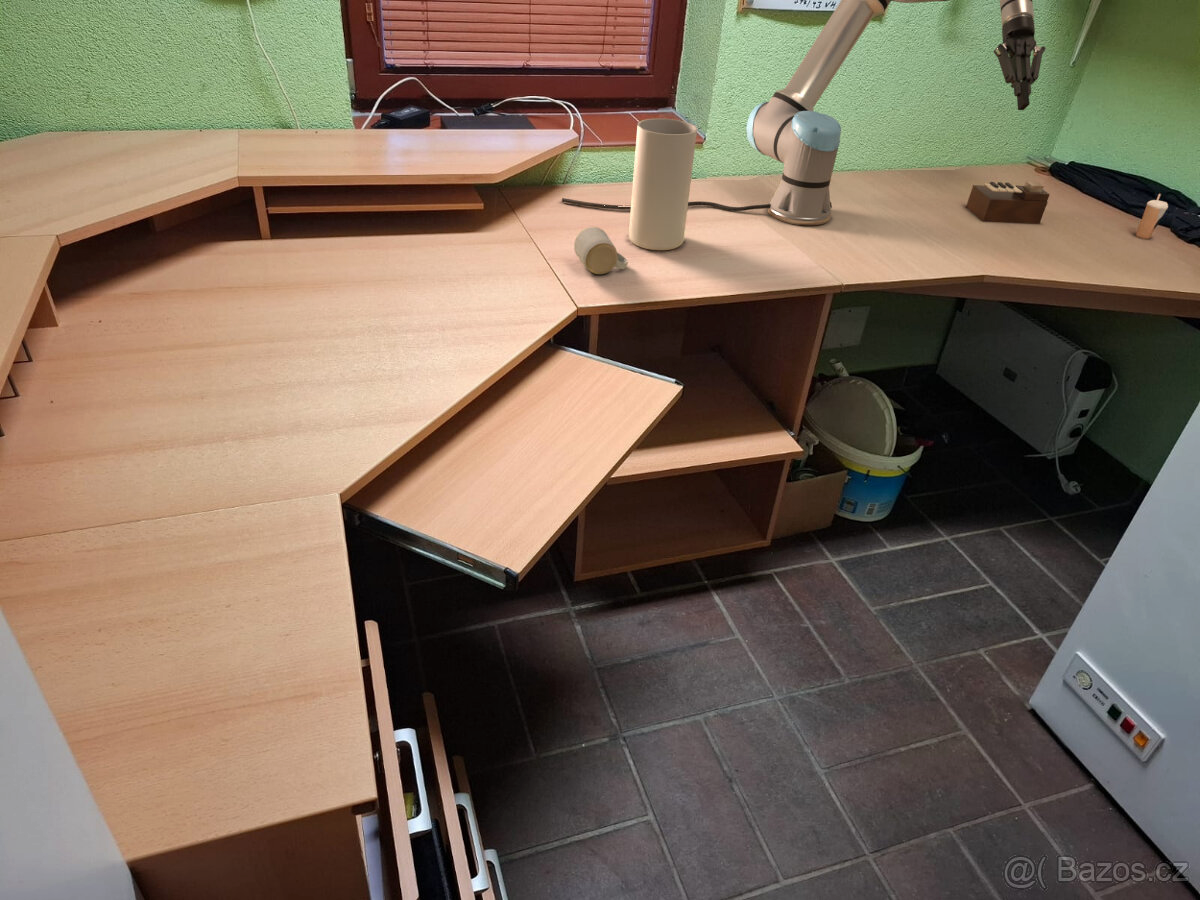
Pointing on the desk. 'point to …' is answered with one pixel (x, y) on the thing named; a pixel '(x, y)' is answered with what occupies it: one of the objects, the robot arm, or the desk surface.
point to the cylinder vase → (661, 183)
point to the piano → (1007, 205)
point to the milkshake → (1151, 217)
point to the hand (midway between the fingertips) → (1023, 107)
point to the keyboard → (1002, 187)
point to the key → (1033, 187)
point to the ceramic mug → (597, 251)
